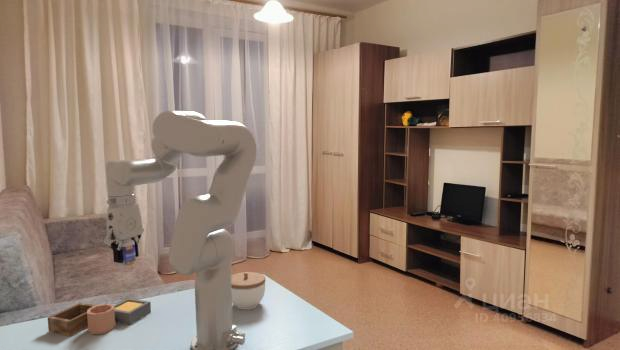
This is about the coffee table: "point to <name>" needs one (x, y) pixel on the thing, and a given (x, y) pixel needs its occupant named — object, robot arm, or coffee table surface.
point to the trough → (70, 320)
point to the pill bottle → (128, 253)
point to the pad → (128, 306)
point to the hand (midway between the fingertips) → (126, 258)
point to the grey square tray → (132, 312)
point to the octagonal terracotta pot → (101, 318)
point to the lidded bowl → (247, 289)
